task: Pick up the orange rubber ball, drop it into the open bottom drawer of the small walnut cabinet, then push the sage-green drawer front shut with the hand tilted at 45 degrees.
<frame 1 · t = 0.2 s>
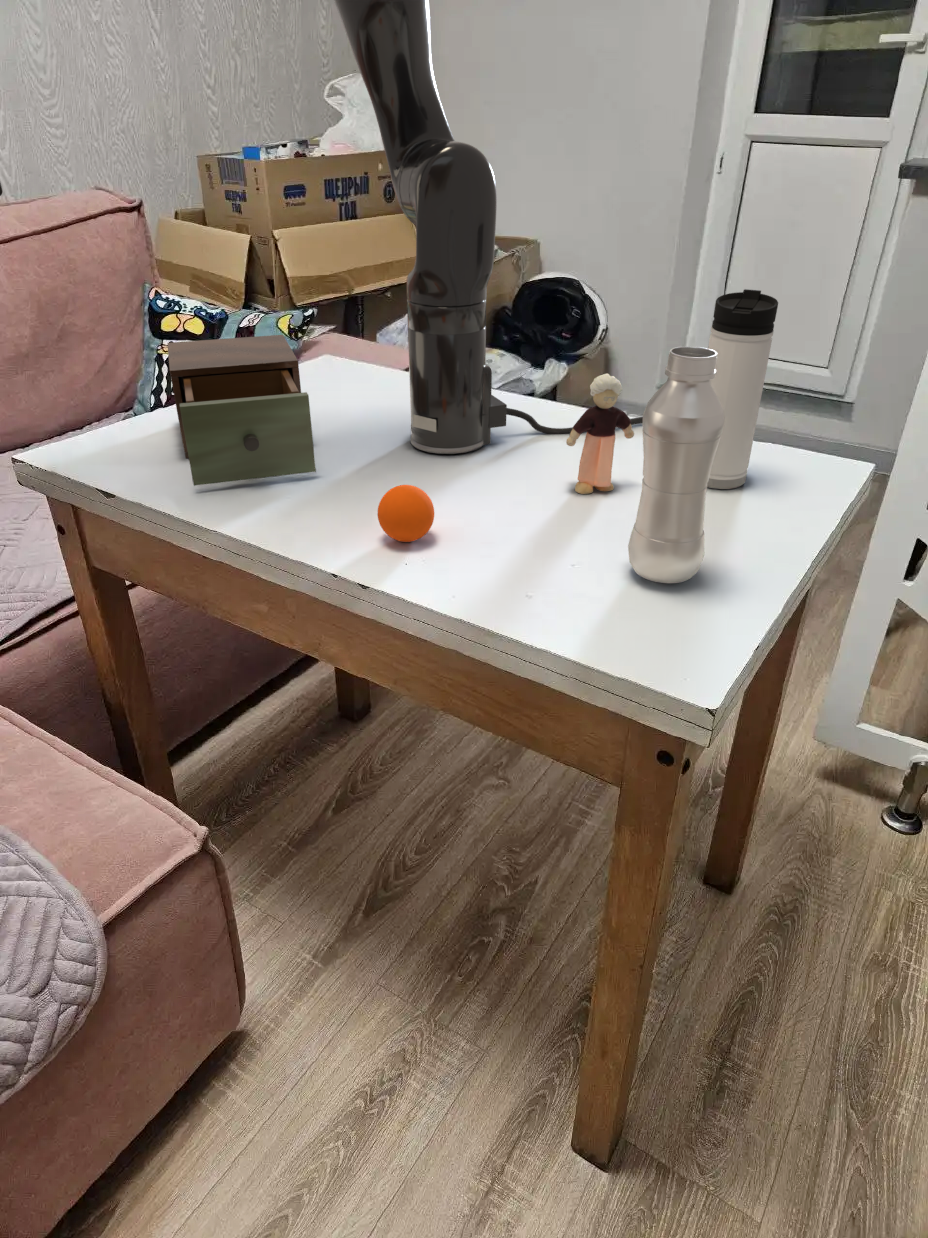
grandmother figurine: (597, 489, 94), on the table
cabinet: (242, 434, 109), on the table
ball: (407, 538, 83), on the table
travel mug: (716, 480, 97), on the table
drawer: (245, 424, 96), point 5 cm above the table, slide at 10.0 cm
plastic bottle: (661, 576, 77), on the table
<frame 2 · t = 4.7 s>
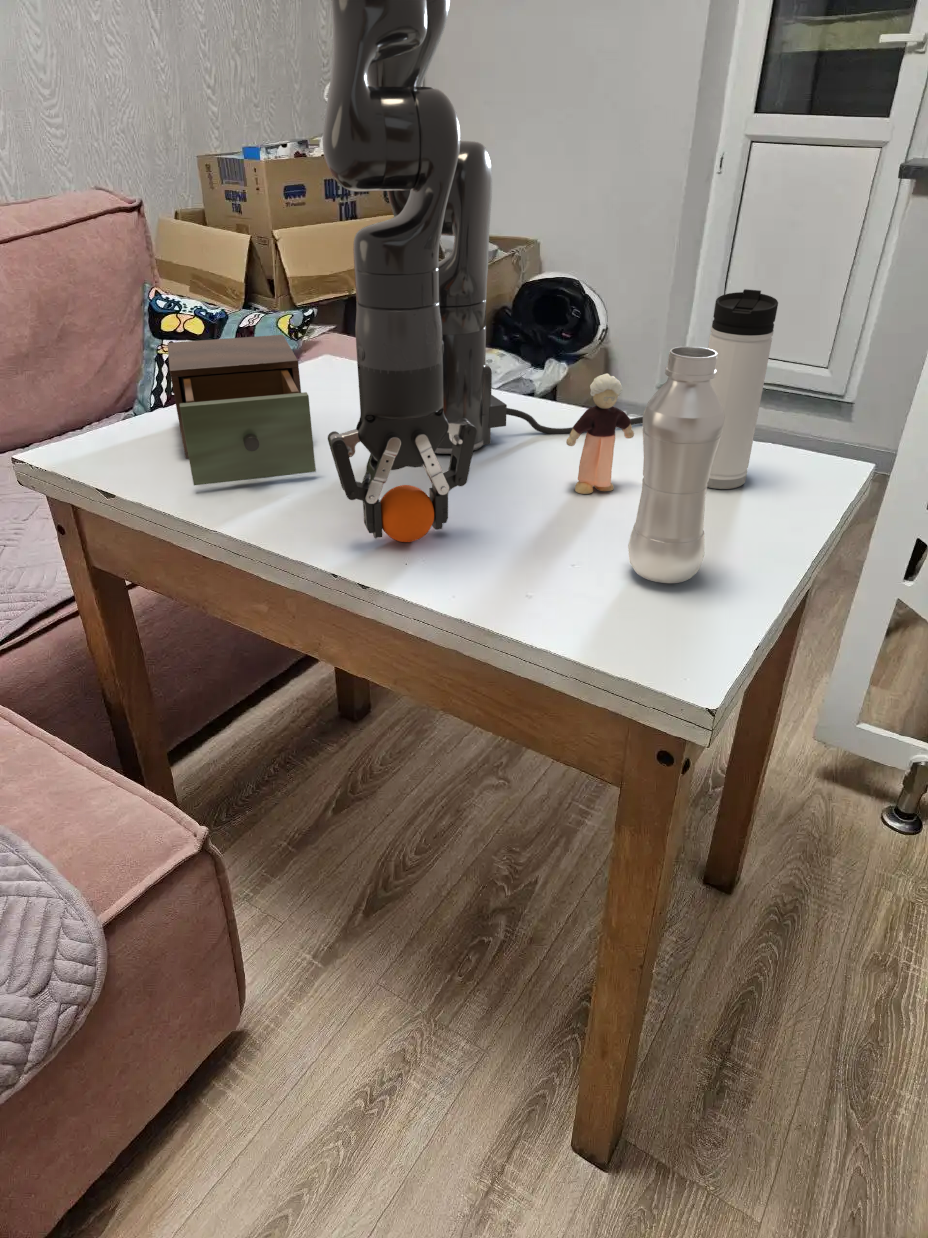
hand: (406, 529, 83), 1 cm above the table, tool pointing down, fingers closed on ball, 5 cm apart
ball: (407, 539, 83), on the table, touching gripper
everything else where it was.
when the fingers open (8 cm above the table, at t = 11.4 s): ball stays where it is, resting on drawer.
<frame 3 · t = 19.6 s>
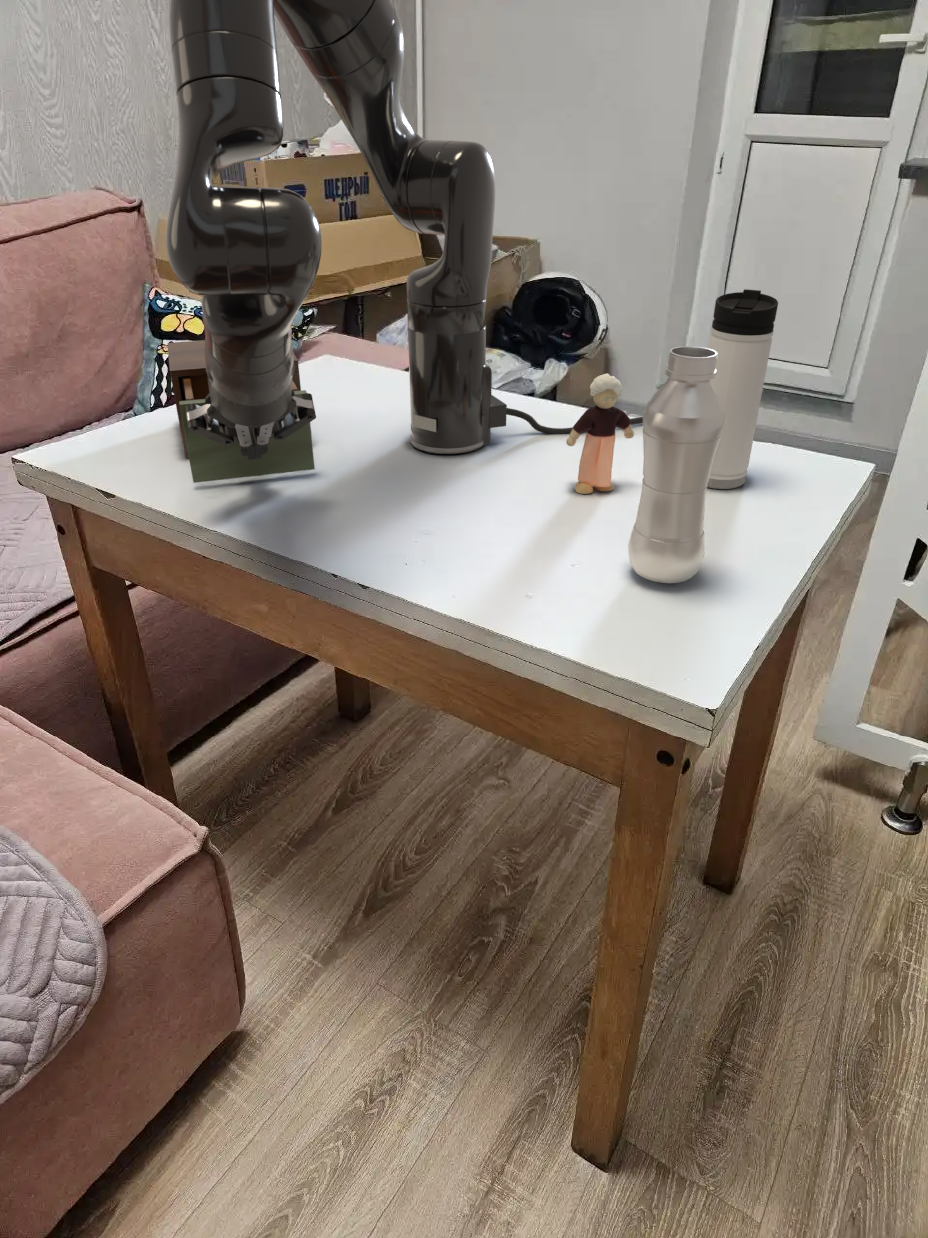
hand: (253, 451, 91), 4 cm above the table, tool tilted 45°, fingers closed
ball: (249, 447, 99), point 2 cm above the table, tilted 12°, touching drawer
drawer: (245, 422, 97), point 5 cm above the table, slide at 9.2 cm, touching ball, gripper
everything else where it was.
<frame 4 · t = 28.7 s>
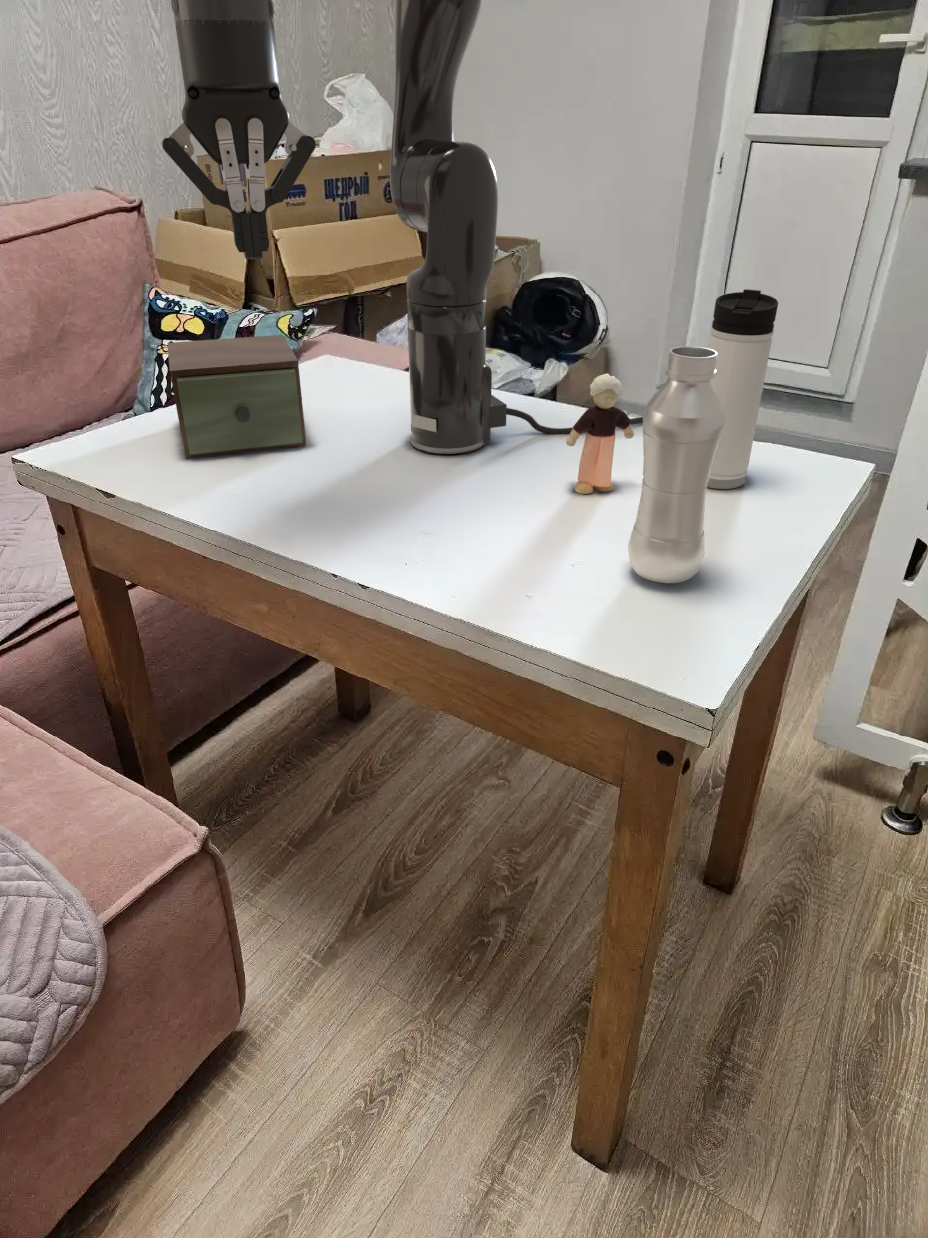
hand: (253, 257, 75), 25 cm above the table, tool pointing down, fingers closed
ball: (240, 417, 106), point 3 cm above the table, tilted 45°, touching drawer
drawer: (238, 399, 104), point 5 cm above the table, slide at 0.0 cm, touching ball, cabinet
everything else where it was.
at the end: ball inside the target area in the cabinet (1.6 cm from its centre), point 2.8 cm above the cabinet's base; drawer slide at 0.0 cm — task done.
